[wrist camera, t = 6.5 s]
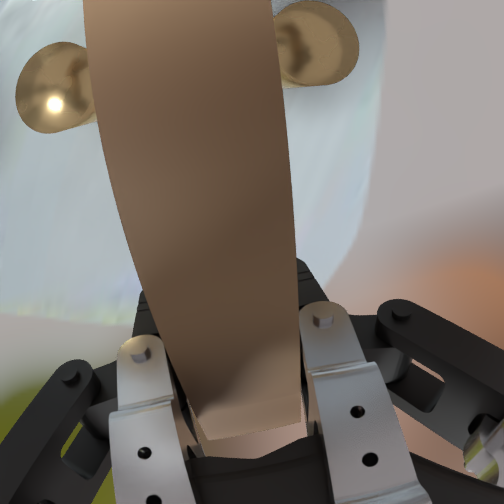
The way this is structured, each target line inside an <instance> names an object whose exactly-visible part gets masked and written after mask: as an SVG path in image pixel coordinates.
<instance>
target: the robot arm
mask: <svg viewBox="0 0 504 504" xmlns="http://www.w3.org/2000/svg"><path fill="white" fill-rule="evenodd" d="M296 261H297V281H298V304H299V333H300V378H301V395H302V402H303V408H304V415H305V421H306V429H307V437H305V438H301V439H298V440H296V441H294V442H292V443H291V444H288V445H286V446H284V447H282V448H280V449H278V450H276V451H274V452H271V453H269V454H267V455H265V456H263V457H260V458H257V459H240V458H223V457H211V456H208V457H206V456H205V454H204V451H203V449H202V446H201V442H200V439H199V435H198V432H197V428H196V425H195V421H194V418H193V414H192V410H191V406H190V403H189V401H188V399H187V396H186V394H185V392H184V390H183V388H182V386H181V383H180V381H179V379H178V377H177V375H176V372H175V370H174V368H173V365H172V363H171V361H170V358H169V356H168V354H167V351H166V349H165V346H164V344H163V341H162V339H161V337H160V334H159V332H158V329H157V326H156V324H155V321H154V319H153V316H152V313H151V311H150V308H149V305H148V303H147V300H146V297H145V294H144V291H143V290H142V292H141V293H140V297H139V302H138V303H139V305H138V307H137V313H136V317H135V323H134V328H133V334H132V338H131V339H129V340H128V341H126V342H125V343H124V344H123V345H122V346H121V347H120V349H119V351H118V353H117V360H116V361H114V362H112V363H110V364H107V365H104V366H102V367H99V368H96V369H94V370H93V369H92V367H91V365H90V364H89V363H88V362H87V361H84V360H71V361H68V362H66V363H64V364H63V365H61V366H60V367H59V368H58V369H57V370H56V371H55V372H54V374H53V375H52V376H51V377H50V379H49V380H48V381H47V382H46V384H45V385H44V386H43V387H42V389H41V390H40V391H39V393H38V394H37V395H36V396H35V398H34V399H33V401H32V402H31V403H30V404H29V406H28V407H27V408H26V410H25V411H24V412H23V414H22V415H21V416H20V418H19V419H18V420H17V422H16V423H15V425H14V426H13V427H12V429H11V430H10V431H9V433H8V434H7V436H6V437H5V438H4V440H3V441H2V443H1V444H0V504H91V503H92V501H93V499H94V497H95V495H96V493H97V492H98V490H99V488H100V486H101V485H102V483H103V481H104V479H105V477H106V476H107V474H108V472H109V470H110V468H111V467H112V471H113V481H114V489H115V497H116V503H117V504H504V350H502V349H500V348H498V347H497V346H495V345H493V344H491V343H489V342H487V341H486V340H484V339H482V338H480V337H478V336H476V335H474V334H472V333H471V332H469V331H467V330H465V329H463V328H461V327H459V326H457V325H456V324H454V323H452V322H450V321H448V320H446V319H444V318H442V317H440V316H438V315H436V314H434V313H433V312H431V311H429V310H427V309H425V308H423V307H421V306H419V305H417V304H415V303H413V302H411V301H408V300H403V299H393V300H389V301H386V302H384V303H383V304H381V305H380V307H379V308H378V311H377V315H360V316H359V315H349V314H348V313H347V311H346V310H345V309H344V308H343V307H342V306H341V305H339V304H336V303H334V302H330V301H329V300H328V298H327V297H326V295H325V293H324V292H323V290H322V289H321V287H320V285H319V284H318V282H317V281H316V279H314V276H313V274H312V273H311V272H310V270H309V268H308V267H307V265H306V264H305V262H303V261H302V260H300V259H298V258H296ZM412 359H414V360H416V361H418V362H419V363H421V364H422V365H424V366H426V367H427V368H429V369H431V370H432V371H434V372H436V373H438V374H439V375H440V376H441V377H442V378H443V379H444V382H445V383H444V382H442V381H441V380H439V379H437V378H436V377H434V376H433V375H431V374H429V373H428V372H426V371H424V370H422V369H421V368H419V367H418V366H416V365H415V364H413V363H411V362H412ZM393 404H394V405H395V406H396V407H398V408H399V409H401V410H402V411H404V412H405V413H407V414H408V415H410V416H411V417H412V418H414V419H415V420H417V421H418V422H420V423H422V424H423V425H425V426H426V427H427V428H429V429H430V430H432V431H433V432H435V433H436V434H438V435H439V436H441V437H442V438H444V439H445V440H447V441H448V442H450V443H451V444H453V445H455V446H456V447H458V448H459V449H461V450H462V451H463V458H464V468H465V469H466V470H467V471H468V472H474V473H475V475H476V476H477V478H478V479H476V478H473V477H471V476H468V475H465V474H463V473H460V472H457V471H455V470H452V469H450V468H447V467H445V466H442V465H440V464H437V463H435V462H432V461H430V460H428V459H425V458H423V457H421V456H418V455H416V454H414V453H412V452H409V450H408V448H407V445H406V441H405V438H404V435H403V432H402V429H401V427H400V424H399V421H398V418H397V415H396V412H395V410H394V407H393ZM78 422H80V423H81V424H82V425H83V427H82V428H81V430H80V431H79V433H78V434H77V436H76V438H75V439H74V441H73V442H72V444H71V445H70V447H69V449H68V450H67V451H66V453H65V455H64V456H63V457H62V458H61V456H60V455H61V449H62V447H63V445H64V444H65V442H66V441H67V439H68V438H69V436H70V435H71V433H72V432H73V430H74V428H75V427H76V425H77V424H78Z"/></svg>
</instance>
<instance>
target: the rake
mask: <svg viewBox="0 0 504 504" xmlns="http://www.w3.org/2000/svg"><path fill="white" fill-rule="evenodd" d="M83 9H84V24H85V36H86V47H87V56H88V64H89V72H90V79H91V86H92V93H93V99H94V105H95V111H96V116H97V122H98V127H99V132H100V137H101V142H102V147H103V152H104V156H105V161H106V165H107V169H108V173H109V178H110V182H111V186H112V190H113V194H114V197H115V201H116V205H117V209H118V212H119V216H120V219H121V223H122V226H123V230H124V233H125V236H126V240H127V243H128V246H129V250H130V253H131V256H132V259H133V262H134V265H135V268H136V271H137V274H138V277H139V280H140V283H141V286H142V289H143V291H144V294H145V297H146V300H147V303H148V305H149V308H150V311H151V313H152V316H153V319H154V321H155V324H156V326H157V329H158V332H159V334H160V337H161V339H162V341H163V344H164V346H165V349H166V351H167V354H168V356H169V358H170V361H171V363H172V365H173V368H174V370H175V372H176V375H177V377H178V379H179V381H180V383H181V386H182V388H183V390H184V392H185V394H186V396H187V399H188V401H189V403H190V405H191V407H192V409H193V411H194V413H195V415H196V417H197V419H198V421H199V423H200V425H201V427H202V429H203V431H204V433H205V435H206V437H207V439H208V440H214V439H221V438H227V437H233V436H239V435H244V434H250V433H255V432H260V431H265V430H269V429H273V428H278V427H282V426H287V425H290V424H294V423H299V422H301V378H300V333H299V304H298V281H297V261H296V243H295V227H294V212H293V198H292V185H291V173H290V161H289V150H288V139H287V129H286V119H285V109H284V100H283V91H282V82H281V73H280V65H279V57H278V49H277V42H276V34H275V27H274V20H273V13H272V6H271V0H83Z"/></svg>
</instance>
